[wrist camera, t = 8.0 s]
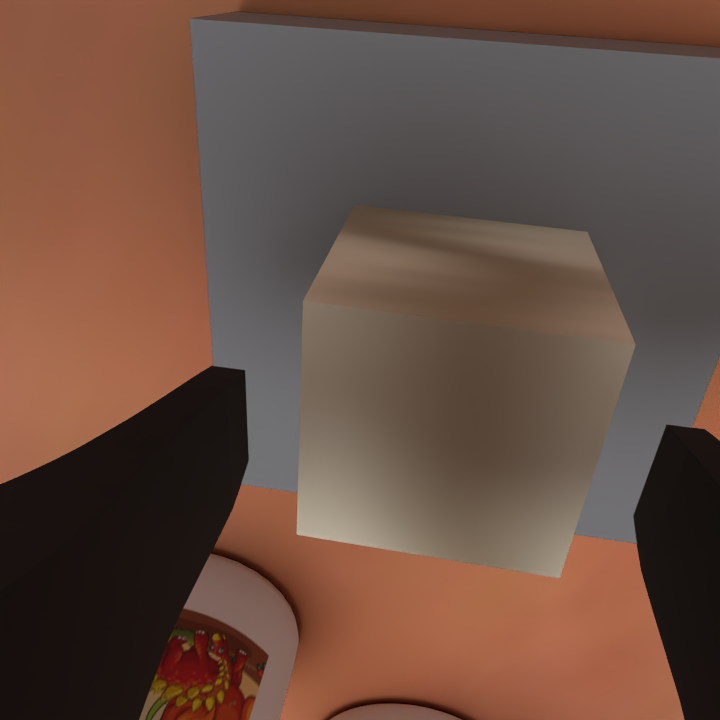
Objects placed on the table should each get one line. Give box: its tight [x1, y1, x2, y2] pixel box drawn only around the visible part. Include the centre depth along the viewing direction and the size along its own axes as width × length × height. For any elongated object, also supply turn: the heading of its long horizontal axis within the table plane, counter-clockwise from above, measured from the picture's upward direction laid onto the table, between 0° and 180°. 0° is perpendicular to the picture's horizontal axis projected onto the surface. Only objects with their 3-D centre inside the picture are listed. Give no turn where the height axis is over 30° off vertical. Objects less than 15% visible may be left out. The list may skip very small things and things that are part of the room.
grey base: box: [190, 12, 720, 544], centre depth 17 cm, size 12×12×3 cm
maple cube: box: [297, 205, 636, 578], centre depth 13 cm, size 5×5×5 cm
